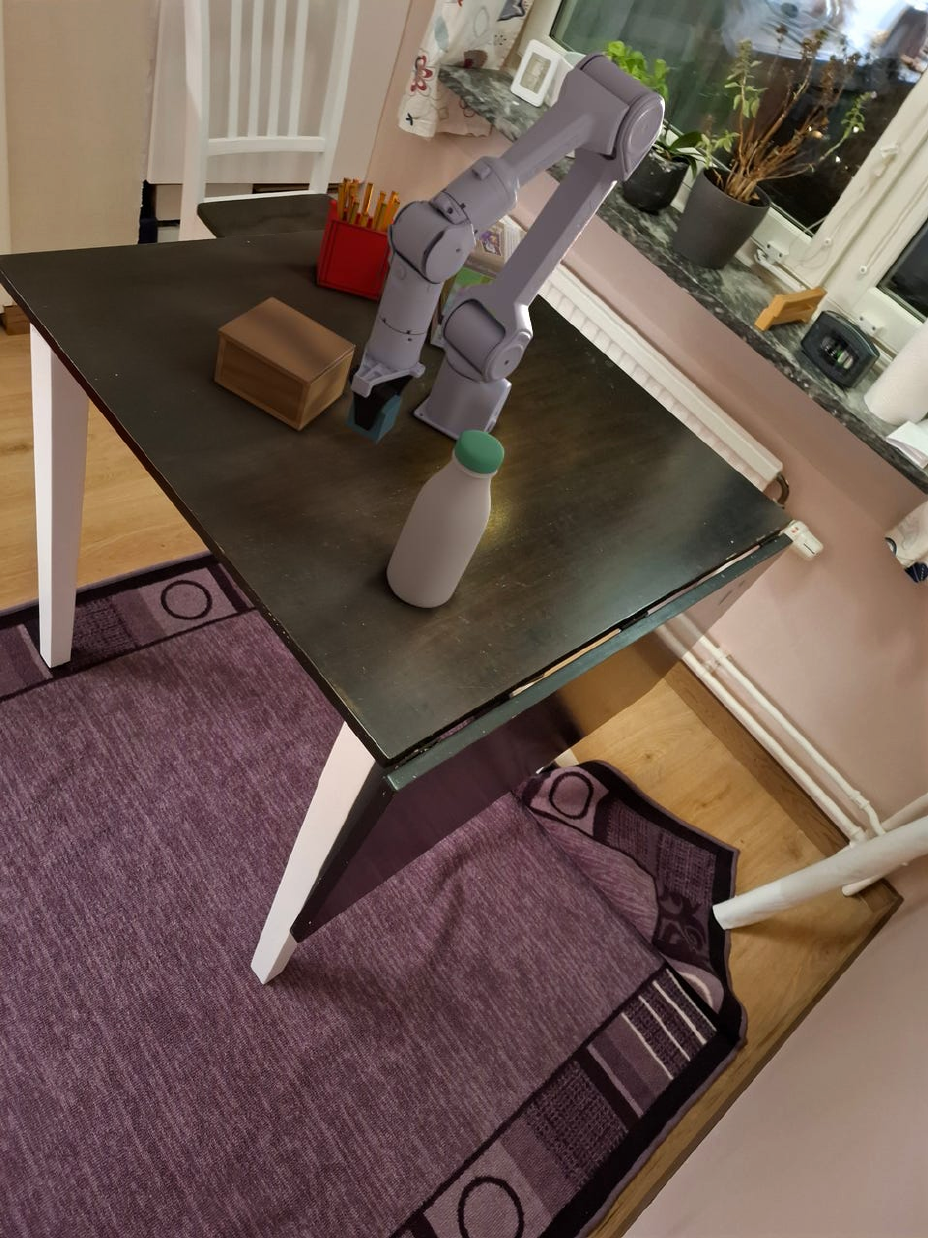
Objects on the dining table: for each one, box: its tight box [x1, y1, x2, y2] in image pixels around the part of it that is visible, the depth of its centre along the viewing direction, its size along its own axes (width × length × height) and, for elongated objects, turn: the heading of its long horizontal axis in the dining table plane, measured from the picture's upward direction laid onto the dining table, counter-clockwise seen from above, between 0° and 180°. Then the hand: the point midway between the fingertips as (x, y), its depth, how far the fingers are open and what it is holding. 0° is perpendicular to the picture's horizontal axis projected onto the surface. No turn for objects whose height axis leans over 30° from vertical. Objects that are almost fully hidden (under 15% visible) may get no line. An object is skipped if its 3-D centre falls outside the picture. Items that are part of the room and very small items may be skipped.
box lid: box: [216, 296, 356, 387], centre depth 98 cm, size 11×12×1 cm
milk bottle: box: [386, 430, 505, 609], centre depth 83 cm, size 8×8×20 cm
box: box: [214, 336, 355, 431], centre depth 101 cm, size 11×12×7 cm
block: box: [345, 395, 403, 444], centre depth 99 cm, size 4×4×4 cm
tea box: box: [430, 220, 527, 349], centre depth 122 cm, size 15×10×15 cm
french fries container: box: [316, 176, 401, 301], centre depth 119 cm, size 7×9×14 cm
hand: (372, 416), depth 99 cm, fingers closed on block, 4 cm apart
